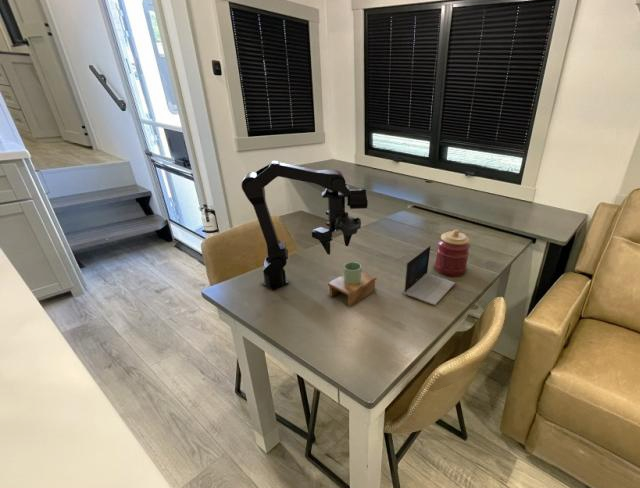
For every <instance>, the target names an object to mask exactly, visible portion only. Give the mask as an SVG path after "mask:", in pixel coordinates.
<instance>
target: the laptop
mask: <svg viewBox="0 0 640 488" xmlns="http://www.w3.org/2000/svg"><path fill="white" fill-rule="evenodd" d="M430 254H431V245H428V246H427V247H426V248H424V249H423V250H421V252H419V253H418V254H416V255H415V256H414V257H412V258H411V259H410V260H409V261H407V262H406V266H405V267H406V268H405V278H404V279H405V281H404V291H403V292H404V295H406V296H408V297H411V298H413V299H416V300H418V301H422V302H425V303H427V304H431V305H434V306H436V305H437V304H438V303H439V301H440V300H441V299H443V297H444V296H445V295H446V294H447V293H448V291H450V289H451V288H452V287H453V286H454V285H455V284H456V282H455V281H452V280H449V279H446V278H443V277H440V276H438V275H434V274H431V273H428V268H429V262H430Z"/></svg>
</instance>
